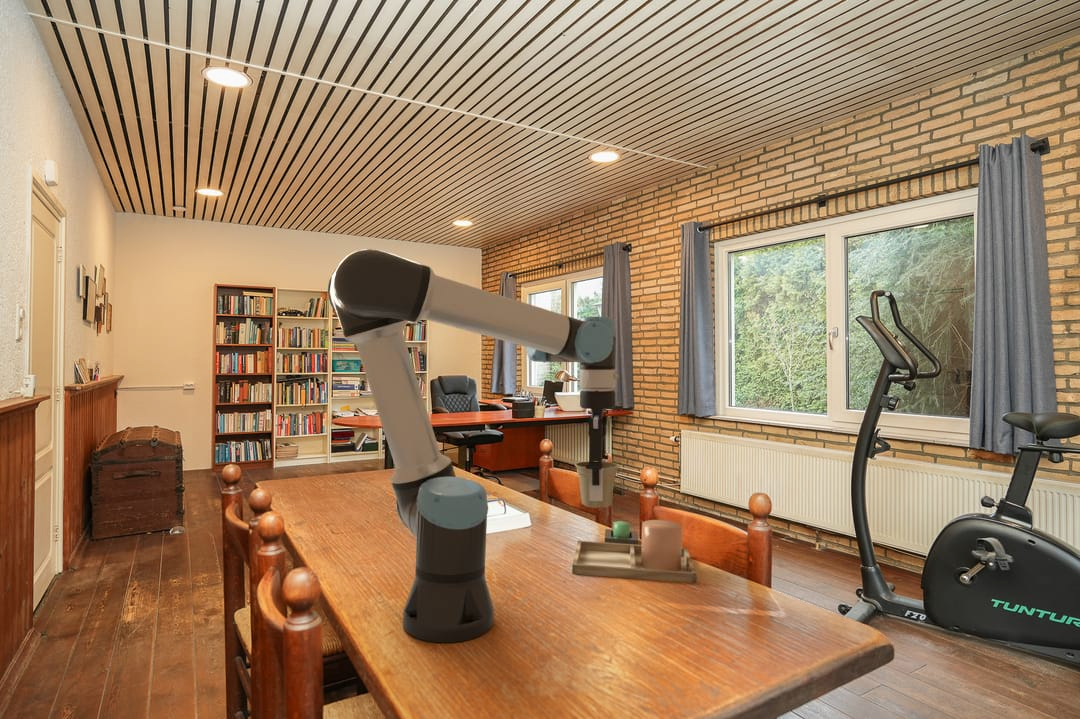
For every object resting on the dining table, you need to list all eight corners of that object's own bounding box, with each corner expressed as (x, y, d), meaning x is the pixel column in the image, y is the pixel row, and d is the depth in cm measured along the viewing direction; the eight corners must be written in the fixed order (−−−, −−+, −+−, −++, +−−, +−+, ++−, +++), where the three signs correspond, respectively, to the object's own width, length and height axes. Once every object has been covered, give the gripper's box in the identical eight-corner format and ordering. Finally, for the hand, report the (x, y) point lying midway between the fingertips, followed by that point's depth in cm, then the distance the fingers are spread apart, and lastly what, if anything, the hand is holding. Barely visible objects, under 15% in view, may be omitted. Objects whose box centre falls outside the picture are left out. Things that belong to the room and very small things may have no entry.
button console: (638, 553, 142) (638, 540, 142) (604, 550, 143) (604, 538, 143) (637, 543, 150) (637, 531, 150) (605, 540, 151) (605, 529, 151)
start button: (629, 546, 144) (630, 526, 144) (612, 545, 145) (613, 524, 145) (629, 542, 148) (629, 521, 148) (613, 540, 149) (613, 520, 149)
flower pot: (619, 500, 131) (619, 461, 132) (619, 511, 122) (619, 468, 122) (576, 499, 133) (576, 460, 133) (573, 509, 123) (573, 467, 123)
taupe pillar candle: (683, 574, 126) (684, 531, 126) (641, 571, 127) (643, 528, 127) (678, 561, 134) (679, 521, 135) (639, 558, 135) (641, 518, 136)
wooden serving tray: (696, 587, 121) (696, 574, 121) (572, 577, 124) (572, 564, 124) (686, 559, 139) (686, 548, 139) (577, 551, 142) (578, 540, 142)
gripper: (613, 392, 116) (613, 508, 116) (617, 387, 138) (617, 484, 138) (574, 392, 117) (574, 507, 117) (584, 386, 139) (584, 483, 139)
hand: (597, 494), depth 127 cm, fingers closed on flower pot, 9 cm apart
